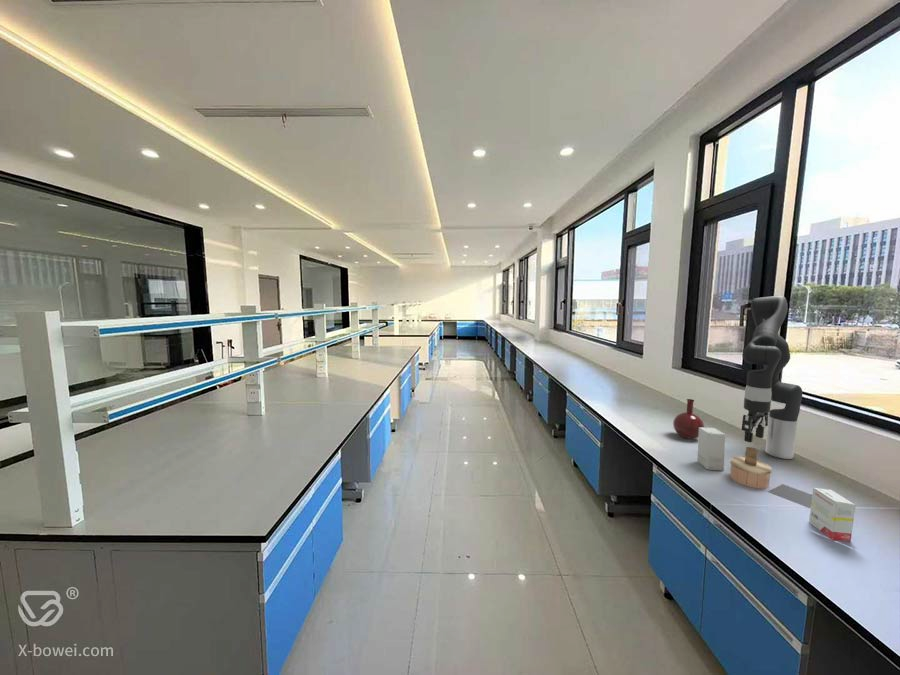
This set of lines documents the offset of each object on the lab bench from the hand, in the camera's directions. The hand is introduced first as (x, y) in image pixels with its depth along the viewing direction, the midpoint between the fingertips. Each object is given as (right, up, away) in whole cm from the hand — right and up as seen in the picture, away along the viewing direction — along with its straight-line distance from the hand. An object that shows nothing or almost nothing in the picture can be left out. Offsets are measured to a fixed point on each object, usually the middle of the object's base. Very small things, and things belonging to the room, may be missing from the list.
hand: (753, 439), depth 132 cm
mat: (+8, -18, -9) cm, 21 cm away
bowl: (0, -17, +2) cm, 17 cm away
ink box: (-2, -20, -28) cm, 34 cm away
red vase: (+5, -13, +45) cm, 47 cm away
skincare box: (-6, -16, +15) cm, 22 cm away
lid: (0, -11, +1) cm, 11 cm away
